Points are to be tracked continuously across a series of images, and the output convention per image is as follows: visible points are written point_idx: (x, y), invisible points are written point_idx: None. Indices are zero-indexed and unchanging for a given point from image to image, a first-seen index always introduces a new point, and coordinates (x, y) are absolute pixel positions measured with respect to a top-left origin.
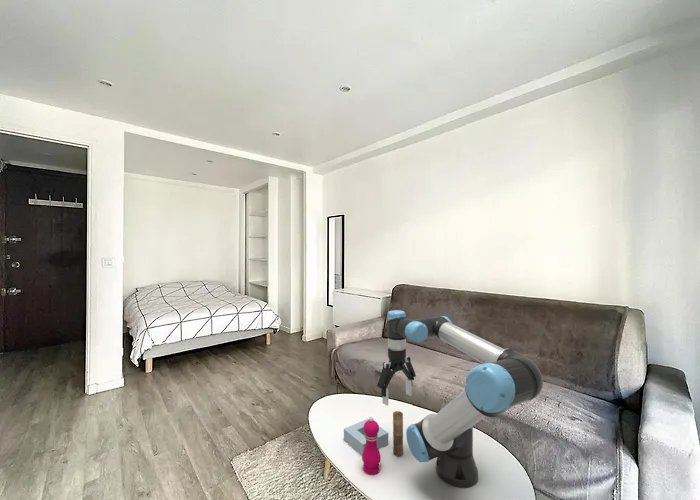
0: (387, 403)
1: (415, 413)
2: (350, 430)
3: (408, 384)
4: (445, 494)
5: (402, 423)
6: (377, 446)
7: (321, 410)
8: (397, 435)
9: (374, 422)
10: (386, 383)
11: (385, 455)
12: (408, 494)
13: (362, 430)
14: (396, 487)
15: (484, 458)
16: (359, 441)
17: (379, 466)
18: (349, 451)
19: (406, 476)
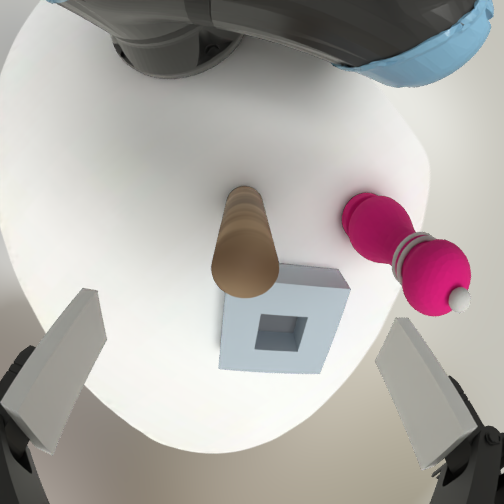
0: (410, 328)
1: (47, 295)
2: (313, 359)
3: (55, 388)
4: None
5: (237, 220)
6: (281, 268)
7: (255, 438)
8: (265, 214)
9: (452, 279)
10: (498, 477)
11: (284, 227)
12: None
13: (272, 343)
14: (374, 116)
15: (68, 25)
16: (343, 307)
17: (359, 198)
18: None
19: (317, 115)
